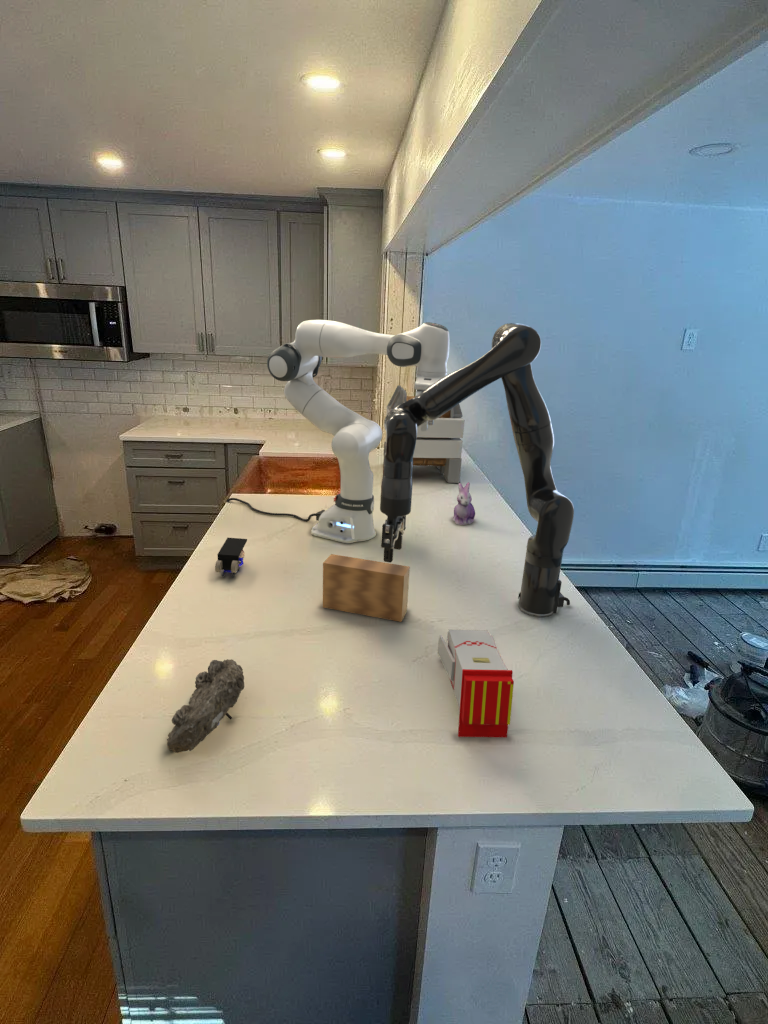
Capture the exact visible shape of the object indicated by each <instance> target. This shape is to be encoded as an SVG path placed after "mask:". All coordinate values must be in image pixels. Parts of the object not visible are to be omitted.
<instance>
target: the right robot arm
mask: <svg viewBox="0 0 768 1024" xmlns="http://www.w3.org/2000/svg"><path fill="white" fill-rule="evenodd" d="M541 348H542V339H541V336H540V334H539V333H538V331H537V330H536V329H535V328H534V327H532V326H529V325H527V324H523V323H518V322H517V323H515V322H508V323H504V324H502V325H500V326H499V327H498V328H497V329H496V330H495V332H494V334H493V336H492V338H491V349H490V350H488V351H487V352H486V353H485V354H483V355H482V356H481V357H479V358H478V359H476V360H474V361H473V362H471V363H469V364H467V365H465V366H463V367H461V368H459V369H456V370H455V371H453V372H450V373H449V374H448V373H447V376H445V377H443V378H442V379H440V380H438V381H437V382H436V383H434V384H433V385H431V386H430V387H428V388H427V389H426V390H424V391H423V392H422V393H420V394H419V395H418V396H416V395H415V397H414V398H412V399H410V400H408V401H406V402H404V403H402V404H400V405H399V406H397V407H395V408H394V409H393V410H391V411H390V412H389V413H388V414H387V416H386V415H385V418H384V421H383V427H384V430H385V433H386V432H387V445H386V453H385V455H384V454H383V462H382V463H383V465H382V478H381V482H380V483H381V484H380V499H379V501H380V502H379V511H380V513H382V514H383V515H385V516H386V519H385V520H384V523H383V524H382V527H381V539H380V548H381V549H383V562H384V563H391V564H392V562H393V561H394V551H395V550H402V546H403V535H404V534H405V532H404V531H406V524H407V516H408V515H409V514H411V511H412V500H413V499H412V498H413V471H414V470H413V469H414V466H413V454H414V450H415V445H416V439H417V427H418V426H420V425H422V424H423V423H425V422H426V421H429V420H435V419H437V418H439V417H440V416H442V415H443V414H445V413H446V412H448V411H449V410H451V409H452V408H453V407H455V406H456V405H458V404H459V405H460V403H462V402H463V401H465V400H466V399H468V398H470V397H471V396H473V395H474V394H476V393H477V392H479V391H480V390H482V389H484V388H486V387H487V386H489V385H491V384H492V383H494V382H496V381H498V380H500V379H501V381H502V385H503V389H504V394H505V399H506V405H507V411H508V416H509V420H510V426H511V431H512V436H513V440H514V443H515V447H516V452H517V456H518V460H519V464H520V467H521V470H522V474H523V479H524V488H525V497H526V505H527V510H528V513H529V515H530V516H531V518H532V519H533V520H535V522H537V525H536V531H535V534H533V535H530V536H529V537H528V539H527V543H526V550H525V557H524V566H523V572H522V577H521V578H522V579H521V585H520V592H519V593H518V596H517V599H518V604H517V607H518V609H519V610H520V611H521V612H522V613H524V614H526V615H529V616H531V617H536V618H548V617H550V616H553V615H554V614H558V613H557V612H558V608H564V606H565V605H564V604H565V602H566V605H567V606H570V605H571V600H570V599H569V598H568V597H566V596H564V595H563V593H562V592H561V588H562V580H561V579H560V576H561V575H560V574H561V569H562V562H563V557H564V551H565V548H566V546H567V545H568V543H569V540H570V536H571V531H572V527H573V522H574V515H575V507H574V503H573V502H572V500H570V498H568V497H567V496H565V495H564V494H562V493H561V492H559V490H558V489H557V486H556V484H555V479H554V476H553V472H552V460H553V459H552V458H553V454H554V449H555V434H554V429H553V425H552V420H551V419H552V418H551V416H550V413H549V410H548V407H547V405H546V402H545V400H544V398H543V396H542V394H541V392H540V390H539V388H538V386H537V384H536V381H535V377H534V374H533V368H532V363H533V362H534V361H535V360H536V359H537V357H538V356H539V354H540V351H541Z"/></svg>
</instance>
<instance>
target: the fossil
mask: <svg viewBox="0 0 768 1024" xmlns="http://www.w3.org/2000/svg"><path fill="white" fill-rule="evenodd" d="M243 670H244V669H243V667H242V665H240V664H237V662H236V661H235V660H234V659H232V658H231V659H227V658H226V659H224V660H223V661H222V660H217V659H212V660H211V661H210V663H209V665H208V666H207V671H201V672H199V673H198V674H197V675H196V676H195V680H194V684H195V685H194V687H195V689H194V690H193V693H192V694H191V697H190V698H189V700H188V704H184V705H182V706H181V707H180V709H177V710H176V711H175V713H174V715H173V716H172V718H171V723H172V724H173V727H172V730H171V731H170V732H168V734H167V738H166V741H167V742H166V745H167V749H168V750H169V751H173V752H174V753H176V754H178V753H182V752H188V751H189V752H192V751H193V750H195V748H196V747H197V746H199V744H200V743H201V742H203V741H204V740H205V739H206V738H207V737H208V736H209V735H210V734H211V733H212V732H214V730H215V729H217V727H218V726H219V724H220V722H221V721H222V720H223V719H224V718H225V716H226V717H227V719H229V720H233V717H232V715H230V714H229V710H230V709H231V708H234V706H235V704H236V703H237V702H238V699H239V697H240V695H241V693H242V691H243V690H245V689H244V688H245V675H244V671H243Z"/></svg>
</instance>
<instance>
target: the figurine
mask: <svg viewBox="0 0 768 1024" xmlns="http://www.w3.org/2000/svg"><path fill="white" fill-rule="evenodd" d="M457 485H458V494H457V496H456V501H457V504H456V505H455V506H454V508H453V516H452V521H453V522H454V523H455V524H456V525H460V526H466V525H471V524H472V523H473V522H474V521H475V516H476V510H475V507H474V505H473V503H472V500H473V498H472V495H471V493H470V488H471V482H470V481H468V482H467V483H466V484H465V486H463V484H462V483H461V482H459V483H457Z"/></svg>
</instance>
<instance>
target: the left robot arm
mask: <svg viewBox="0 0 768 1024" xmlns="http://www.w3.org/2000/svg"><path fill="white" fill-rule="evenodd" d="M450 342H451V341H450V332H449V329H448V328H447V327H446V326H445V325H443V324H439V323H436V322H430V321H426V322H423V323H422V324H421V325H419V326H418V327H416V328H413V329H411V330H408V331H404V332H401V333H397V334H388V333H382V332H381V333H380V332H374V331H370V330H367V329H363V328H360V327H358V326H354V325H352V324H349V323H344V322H341V321H336V320H329V319H309V320H304V321H302V322H300V323H299V324H298V326H297V327H296V330H295V338H294V339H293V341H292V342H286V343H284V344H282V345H280V346H278V347H276V348H275V349H273V350H272V351H271V353H269V355H268V357H267V361H266V367H267V370H268V372H269V375H271V377H272V378H273V379H275V380H277V381H279V382H285V385H284V387H283V395H284V397H285V399H286V400H287V402H288V403H290V405H291V406H292V407H293V408H294V409H295V410H296V411H297V412H298V413H299V414H301V416H302V417H304V418H305V419H306V420H307V421H308V422H310V423H311V424H312V425H313V426H315V427H316V428H317V429H318V430H319V431H322V432H324V433H327V434H330V435H332V436H333V437H332V440H331V444H330V447H331V451H332V452H333V455H334V456H335V457H336V458H337V462H338V468H339V473H340V475H339V476H340V488H339V489H340V490H339V491H338V492H337V494H336V495H335V496H334V497H333V502H334V504H333V505H331V506H329V507H328V508H326V509H322V510H320V511H317V512H315V513H314V512H313V513H311V514H309V515H308V517H307V518H302V517H300V516H299V515H296V514H294V513H285V512H283V513H281V512H279V513H278V512H269V511H263V510H260V509H258V508H255V507H253V506H252V505H251V504H250V503H249V502H247V501H245V500H243V499H239V498H237V497H230V498H228V499H226V500H225V502H226V503H229V502H230V501H236V502H238V503H242V504H244V505H246V506H247V507H248V508H249V509H250V510H252V511H253V512H256V513H258V514H262V515H268V516H277V517H279V516H282V517H293V518H295V519H297V520H300V521H301V522H305V523H307V522H310V520H311V518H312V517H315V521H316V522H317V523H315V524H314V525H313V526H312V528H311V530H310V533H311V536H315V537H319V538H323V539H326V540H330V541H336V542H339V543H343V544H352V543H357V542H365V541H368V540H372V539H373V538H375V537H376V535H377V532H376V528H375V523H374V513H373V512H374V509H375V496H374V473H373V471H372V469H371V465H370V460H369V458H370V453H371V452H372V451H374V450H376V449H377V448H378V446H379V445H380V444H381V441H382V439H383V430H382V428H381V425H379V424H378V423H377V422H376V421H374V420H371V419H368V418H366V417H364V416H363V415H361V414H359V413H357V411H356V412H355V411H354V410H352V409H350V408H348V407H347V406H345V405H344V404H342V403H341V402H339V401H338V400H337V399H335V397H333V396H332V395H331V394H329V392H327V391H326V390H325V389H324V388H322V387H321V386H320V385H319V384H317V383H316V381H315V380H314V378H315V377H317V376H318V374H319V369H320V367H321V364H322V361H323V357H324V358H330V359H346V358H347V359H348V358H352V357H358V356H363V355H384V356H387V358H388V360H389V361H390V362H391V364H393V365H394V366H397V367H399V368H408V367H414V366H415V367H416V377H415V382H414V388H413V389H414V390H415V397H416V396H418V395H419V394H420V393H422V392H423V391H424V390H426V389H427V388H428V387H430V386H431V385H433V384H434V383H436V382H437V381H438V380H440V379H442V378H443V377H445V376H447V375H448V367H447V363H448V361H449V357H450ZM433 423H434V420H429V421H426V422H425V423H423V424H422V425H421V431H427V429H428V425H433Z"/></svg>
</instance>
